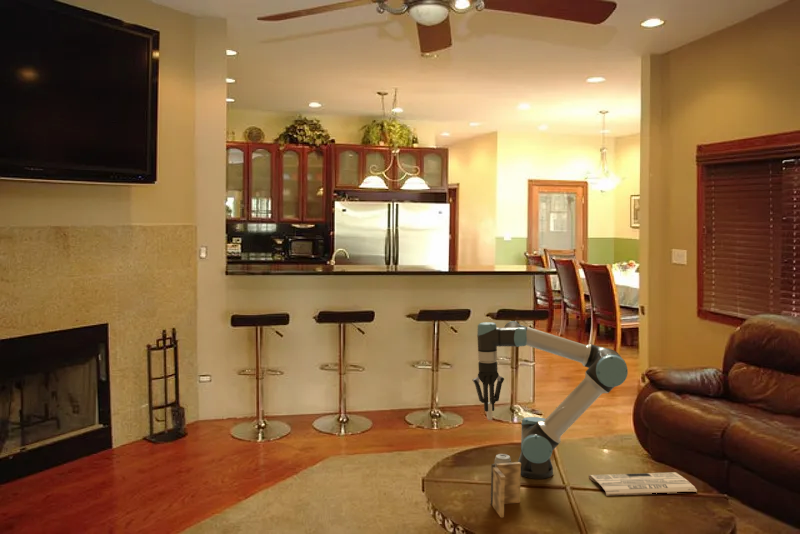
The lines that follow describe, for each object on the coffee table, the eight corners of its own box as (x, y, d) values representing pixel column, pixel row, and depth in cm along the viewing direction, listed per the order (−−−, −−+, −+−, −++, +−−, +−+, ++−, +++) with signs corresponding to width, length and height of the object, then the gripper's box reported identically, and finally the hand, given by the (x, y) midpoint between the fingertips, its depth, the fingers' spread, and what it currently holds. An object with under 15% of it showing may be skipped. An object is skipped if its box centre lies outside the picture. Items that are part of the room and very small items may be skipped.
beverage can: (511, 483, 263) (512, 454, 262) (508, 489, 257) (509, 459, 256) (495, 481, 265) (496, 452, 264) (492, 487, 259) (493, 457, 258)
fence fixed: (491, 507, 239) (492, 467, 238) (496, 506, 240) (496, 467, 239) (500, 518, 230) (501, 477, 229) (504, 518, 231) (505, 477, 230)
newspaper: (673, 476, 273) (673, 470, 272) (699, 496, 253) (699, 489, 253) (588, 479, 269) (588, 472, 269) (608, 499, 250) (608, 492, 249)
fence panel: (491, 505, 240) (492, 465, 239) (490, 503, 242) (490, 463, 241) (520, 502, 242) (521, 463, 241) (518, 501, 244) (519, 461, 243)
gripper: (500, 358, 266) (501, 414, 268) (469, 360, 264) (471, 417, 265) (506, 361, 259) (508, 420, 260) (475, 364, 257) (476, 423, 258)
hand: (489, 418), depth 263 cm, fingers closed
